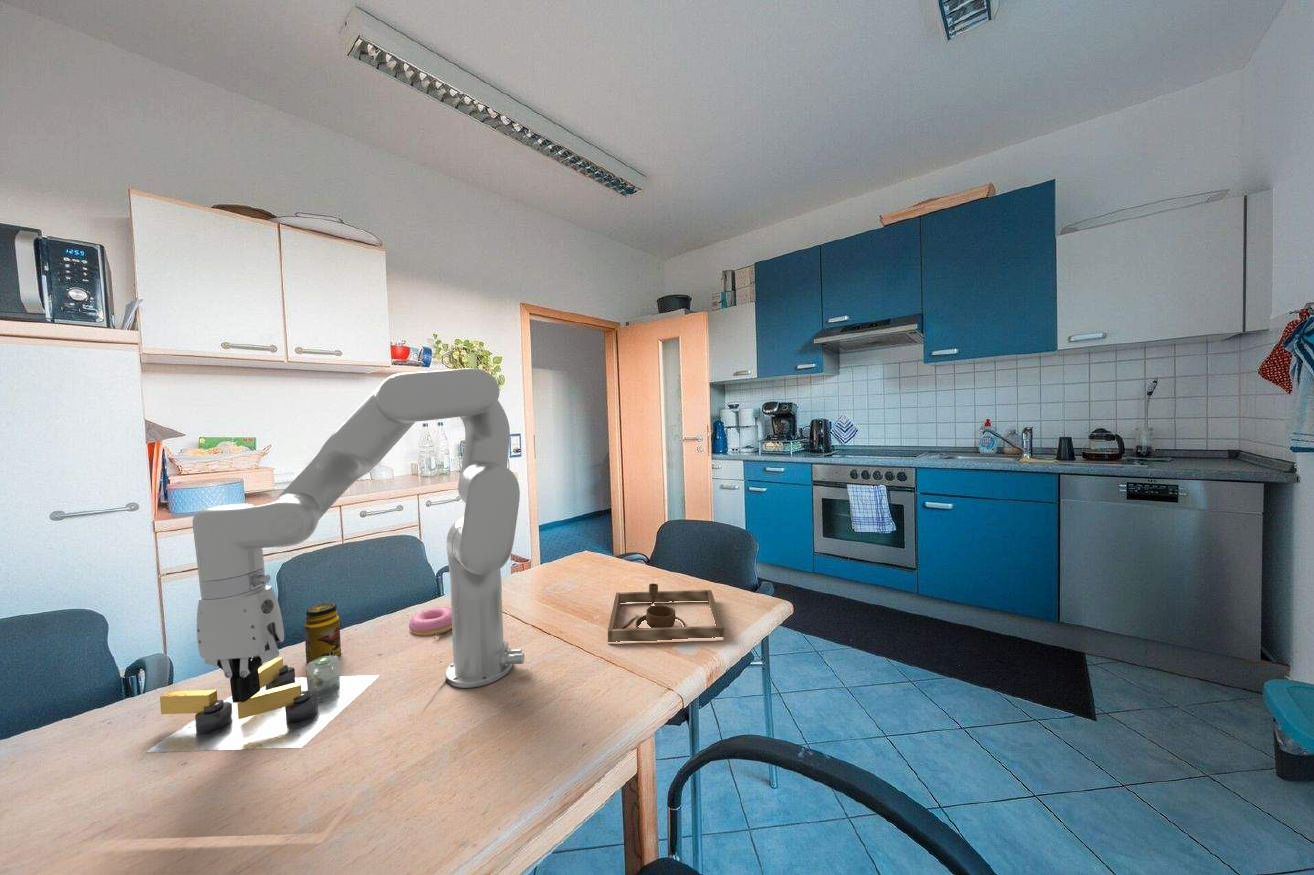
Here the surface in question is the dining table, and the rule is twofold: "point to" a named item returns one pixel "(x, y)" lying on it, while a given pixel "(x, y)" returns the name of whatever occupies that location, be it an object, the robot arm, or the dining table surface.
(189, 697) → the knob
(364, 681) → the silver flat rectangular sheet
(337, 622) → the condiment
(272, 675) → the knob
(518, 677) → the dining table surface
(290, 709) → the knob
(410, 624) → the doughnut
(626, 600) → the brown rectangular frame
